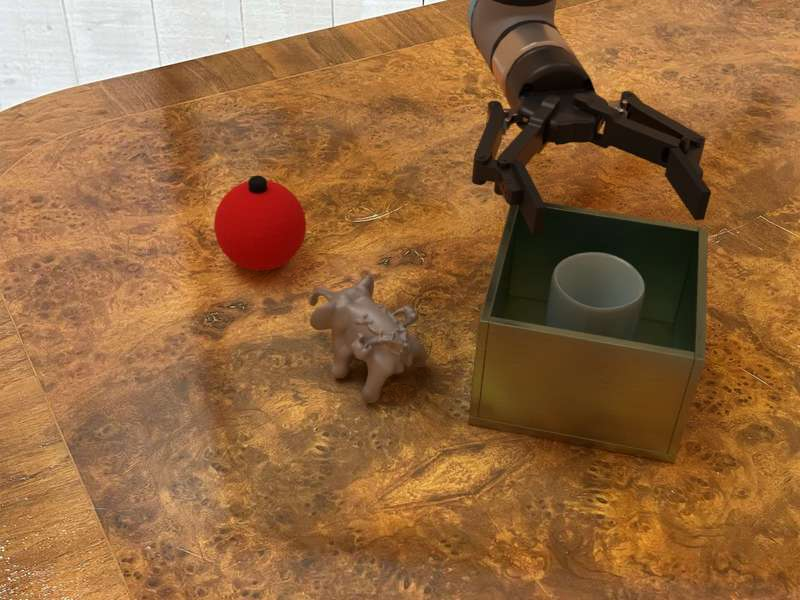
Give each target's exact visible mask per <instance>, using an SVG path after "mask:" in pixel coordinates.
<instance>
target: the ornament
mask: <svg viewBox="0 0 800 600" xmlns="http://www.w3.org/2000/svg"><path fill="white" fill-rule="evenodd" d="M213 226H214V227H213V229H214V233H215V239H216V242H217V243H218V246H219V248H220V249H221V251H222V253H223V254H224V255H225V256H226V257H227V258H228V259H229V260H230V261H231V262H233V263H234V264H236V265H237V266H239V267H241V268H244V269H246V270H250V271H257V272H258V271H259V272H265V271H271V270H274V269H275V270H276V269H277V268H279V267H282V266H284V265H285V264H287V263H288V262H290V261H291V260H292V259H293V258H294V257H295V256H296V254H298V252H299V250H300V249H301V247H302V246H303V243H304V240H305V236H306V230H307V220H306V214H305V211H304V208H303V206H302V204H301V202H300V201H299V199H298V198H297V197H296V195H295V194H294V192H292V191H291V190H290V189H288V188H287V187H286V186H285V185H282V184H280V183H278V182H275V181H273V180H270V179H269V180H268V179H267V178H265V177H264V176H262V175H253V176H251V177H250V178H249V179H248V180H246V181H244V182H241V183H239V184H238V185H235V186H233V187H232V188H231V189H230V190H229V191H228V192H226V194H225V195H224V196H223V197H222V199H221V201H220V202H219V204H218V206H217V209H216V211H215V215H214V224H213Z"/></svg>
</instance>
